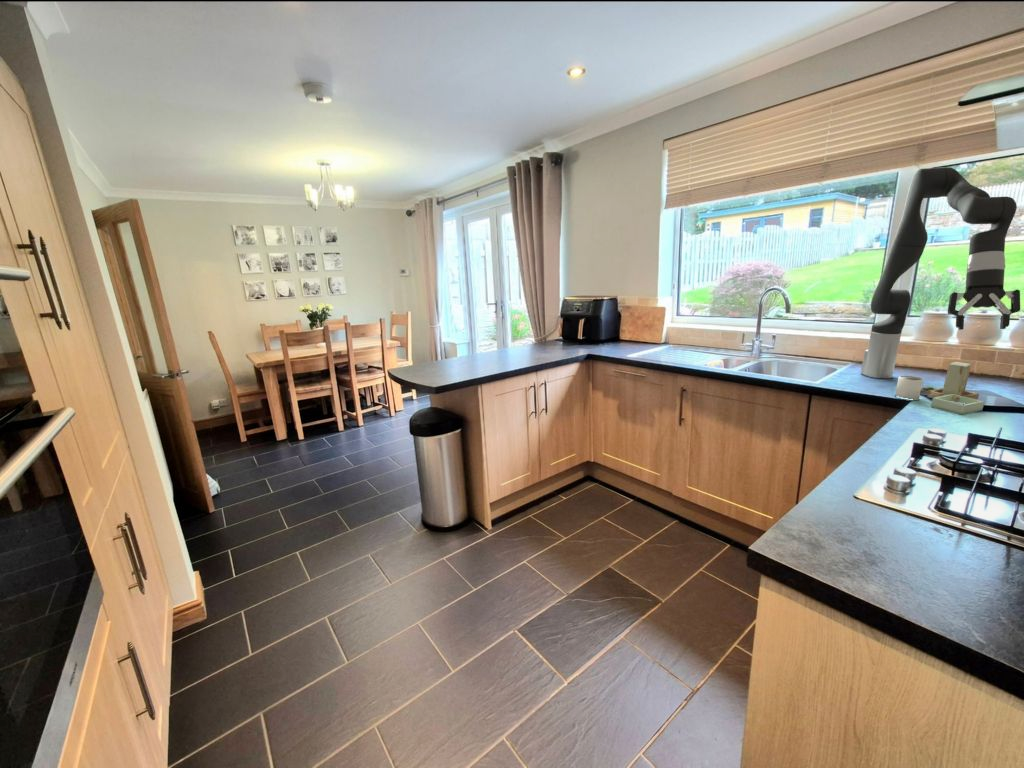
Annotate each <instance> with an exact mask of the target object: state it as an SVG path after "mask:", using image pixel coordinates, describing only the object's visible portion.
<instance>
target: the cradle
mask: <svg viewBox="0 0 1024 768" xmlns="http://www.w3.org/2000/svg"><path fill="white" fill-rule="evenodd" d="M942 391H943V387H940V388H935V387H934V386H922V388H921V393H923V394H927V396H929V397H939V396H944V395H947V394H943V393H942ZM927 396H926V397H927ZM979 396H980V393H977V392H973V391H968V390H965V392H964V397H968V398H972V399H978V400H979ZM959 399H960V398H959V397H954V396H952V399H951V401H954V402H959Z"/></svg>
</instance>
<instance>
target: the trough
mask: <svg viewBox="0 0 1024 768" xmlns="http://www.w3.org/2000/svg"><path fill="white" fill-rule="evenodd" d="M952 396H954V397H959V398H960V399H959V402H961V403H965V404H964V405H963V404H958V403H954V402H950V401H951V399H952ZM984 404H985V401H983V400H980V399H978V400H977V399H972V398H968V397H964V396H959V395H955V394H949V395H944V396H939V397H934V398H933V399H931V404H930V407H931V408H933V407H934V409H938V410H941V411H946V412H950V413H953V414H957V415H961V416H964V415H969V414H973V413H978V412H982V411H983V408H984Z"/></svg>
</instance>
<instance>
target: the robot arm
mask: <svg viewBox="0 0 1024 768" xmlns="http://www.w3.org/2000/svg"><path fill="white" fill-rule="evenodd" d="M906 194H907V195H906V199H905V204H904V207H903V212H902V216H901V219H900V221H899V224H898V227H897V230H896V232H895V236H894V239H893V241H892V243H891V247H890V250H889V254H888V256H887V260H886V263H885V266H884V269H883V272H882V275H881V277H880V279H879V282H878V284H877V286H876V288H875V290H874V293H873V295H872V297H871V301H870V311H871V312H872V313H873V314H875V315H876V314H877V315H889V317H888V318H886V319H884V320H881V321H879V322H878V321H877V322H875V323H873V324H872V326H871V329H870V330H871V331H870V335H869V340H868V346H867V349H866V350H864V351H863V352H864V353H863V358H862V363H861V368H860V374H862V375H863V376H865V377H870V378H874V379H875V378H876V379H892V378H893V375H894V370H895V367H896V366H895V365H896V361H897V356H898V353H899V352H898V351H899V346H900V340H901V336H902V332H903V328H904V326H905V323H906V320H907V316H908V312H909V308H910V305H911V298H912V297H911V293H910V291H909V290H908V289H898V288H897V289H893V287H894V284H895V283H896V282H897V281H898V279H899V278H901V276H903V275H904V274H905V273H906V272H907V271H908V270H910V269H911V268H912V267H913V266H914V265H915V264H916V263H917V262H919V260H920V259H921V257H922V255H923V253H924V250H925V248H926V245H927V242H928V232H927V228H926V226H925V225H924V222H923V219H922V217H921V207H922V203H923V200H924V199H936V198H937V199H938V198H942V197H943V198H944V197H945V198H946V199H947V203H948V206H949V207H950V208H952V209H953V210H955V211H956V212H958V213H959V214H960V216H961V218H962V221H963V222H964V223H966V224H970V225H990V228H989V229H988V230H985V231H980V232H976V233H975V234H973V235H971V237H970V239H969V249H968V251H969V252H968V259H967V264H966V275H965V276H966V279H965V290H964V292H957V291H956V292H955V291H954V292H951V293H950V294H949V299H948V305H947V306H948V308H947V314H948V315H951V316H955V327H956V329H958V330H959V331H962V330H964V326H965V325H964V324H965V315H964V314H965V313H966V312H968V310H970V309H971V308H974V309H978V308H979V309H980V308H985V309H986V308H991V307H992V308H994V309H995V310H997V311H998V312H999V313H1000V314H1001V315H1000V321H999V322H1000V323H999V324H1000V325H999V329H1000V330H1006V328H1007V327H1009V326H1010V320H1011V319H1010V318H1011V315H1012V314H1016V313H1018V312H1020V311H1021V290H1020V289H1014V290H1007V291H1005V289H1004V283H1005V269H1006V257H1005V249H1006V246H1005V245H1006V237H1007V234H1008V232H1009V229H1010V227H1011V224H1012V223H1013V219H1014V217H1015V215H1016V213H1017V209H1018V207H1017V202H1016V200H1015V199H1014V198H1013V197H1010V196H990V194H989V193H988V192H987V191H985V190H983V189H981V188H979V187H977V186H975V185H972V184H971V183H970V182H968V180H967V179H966V178H965V176H962V174H961V173H960V172H959V171H958V170H957V169H955V168H953V167H948V166H943V167H941V166H939V167H926V168H925V167H923V168H919V169H918V170H916V172H915V173H914V174H913V175H912V178H911V181H910V184H909V186H908V191H907V193H906ZM1005 296H1006V298H1008V299H1009V300H1010V309H1009V308H1008V307H1007V306H1006V304H1005V303H1004V302H1002V299H1003V298H1004V297H1005ZM961 298H963V299H964V300H965V302H966V303H965V304H964V305H963V306H962V307H961V308H960V309H959V310H957V309H956V308H957V301H959V300H961Z"/></svg>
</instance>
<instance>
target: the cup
mask: <svg viewBox="0 0 1024 768" xmlns="http://www.w3.org/2000/svg"><path fill="white" fill-rule="evenodd" d="M923 384H924V378H923V377H920V376H916V375H909V374H908V375H903V374H902V375H898V379H897V383H896V389H895V392H894V393H895V394H894V396H895V395H896V396H899V397H903V398H908V399H913V400H917V401H919V400H920V395H921V394H920V393H921V388H922V387H923ZM918 399H919V400H918Z"/></svg>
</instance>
